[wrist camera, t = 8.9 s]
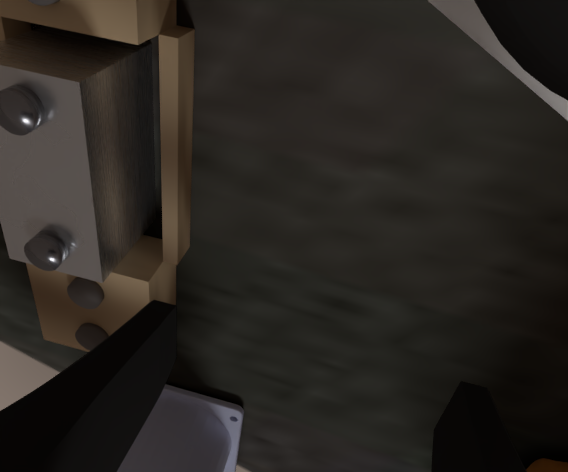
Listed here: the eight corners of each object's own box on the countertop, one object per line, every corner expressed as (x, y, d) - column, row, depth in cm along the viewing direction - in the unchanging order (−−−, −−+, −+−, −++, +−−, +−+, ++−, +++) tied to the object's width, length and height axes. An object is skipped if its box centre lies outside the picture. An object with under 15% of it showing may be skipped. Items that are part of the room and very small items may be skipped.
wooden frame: (187, 331, 27) (161, 379, 24) (65, 298, 28) (26, 341, 25) (199, -190, 14) (146, -211, 11) (-32, -225, 15) (-133, -253, 12)
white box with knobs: (157, 216, 23) (94, 293, 19) (79, 197, 23) (-1, 267, 19) (153, 42, 18) (67, 88, 14) (55, 22, 19) (-59, 60, 14)
